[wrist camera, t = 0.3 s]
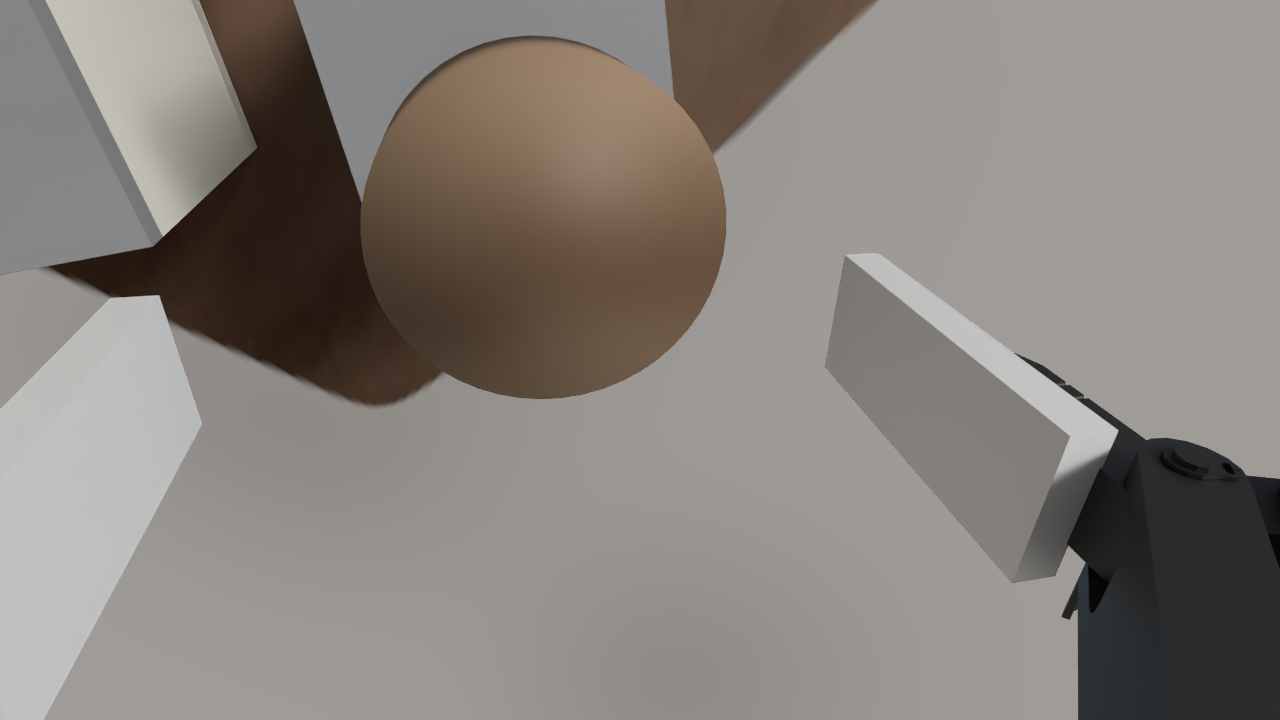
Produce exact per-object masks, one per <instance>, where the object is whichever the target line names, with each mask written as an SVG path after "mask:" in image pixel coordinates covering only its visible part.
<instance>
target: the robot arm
mask: <svg viewBox="0 0 1280 720" xmlns="http://www.w3.org/2000/svg"><path fill="white" fill-rule="evenodd" d="M825 368H826V369H827V370H828V371H829V372H830V373H831V375H832V376H833V377H834V378H835V379H836V380H837V382H838V383H839V384H840V385H841V386H842V387H843V388H844V390H845V391H846V392H847V393H848V394H849V395H850V397H851V398H852V399H853V400H854V401H855V402H856V403H857V404H858V406H859V407H860V408H861V409H862V410H863V412H864V413H865V414H866V415H867V416H868V417H869V419H870V420H871V421H872V422H873V423H874V424H875V426H877V428H878V429H879V430H880V431H881V432H882V434H883V435H884V436H885V437H886V438H887V439H888V440H889V442H891V444H892V445H893V446H894V447H895V449H896V450H897V451H898V452H899V453H900V454H901V455H902V457H903V458H904V459H905V460H906V461H907V463H908V464H909V465H910V466H911V467H912V468H913V469H914V470H915V472H916V473H917V474H918V475H919V476H920V478H921V479H922V480H923V481H924V482H925V483H926V484H927V486H928V487H929V488H930V489H931V490H932V491H933V493H934V494H935V495H936V496H937V497H938V498H939V500H941V502H942V503H943V504H944V505H945V506H946V508H947V509H948V510H949V511H950V512H951V513H952V514H953V516H954V517H955V518H956V519H957V520H958V521H959V523H960V524H961V525H962V526H963V527H964V528H965V530H966V531H967V532H968V533H969V534H970V535H971V537H973V539H974V540H975V541H976V542H977V543H978V545H979V546H980V547H981V548H982V549H983V550H984V552H985V553H986V554H987V555H988V556H989V557H990V558H991V560H992V561H993V562H994V563H995V564H996V565H997V566H998V568H999V569H1000V570H1001V571H1002V572H1003V573H1004V575H1005V576H1006V577H1007V578H1008V579H1009V580H1010V582H1011V583H1016V582H1021V581H1027V580H1033V579H1040V578H1046V577H1052V576H1055V575H1056V572H1057V570H1058V568H1059V566H1060V563H1061V561H1062V559H1063V556H1064V554H1065V552H1066V549H1067V547H1068V545H1069V546H1070V547H1071V548H1072V549H1073V550H1074V551H1075V552H1076V553H1077V554H1078V555H1079V556H1080V557H1081V558H1082V559H1083V560H1084V561H1085V562H1086V563H1085V565H1084V568H1083V570H1082V572H1081V574H1080V576H1079V578H1078V581H1077V583H1076V585H1075V587H1074V589H1073V591H1072V594H1071V596H1070V598H1069V600H1068V602H1067V604H1066V607H1065V609H1064V612H1063V614H1062V617H1063V618H1066V619H1070V618H1071V616H1072V613H1073V611H1075V610H1077V609H1078V720H1280V479H1275V478H1265V477H1255V476H1246V475H1245V474H1244V472H1243V470H1242V469H1241V468H1239V467H1238V466H1237V465H1235V464H1234V463H1233V462H1232V461H1230V460H1229V459H1228V458H1226V457H1224V456H1222V455H1220V454H1218V453H1216V452H1214V451H1212V450H1210V449H1208V448H1205V447H1202V446H1199V445H1196V444H1193V443H1190V442H1187V441H1182V440H1176V439H1170V438H1155V439H1149V440H1145V439H1144V438H1143V437H1141V436H1140V435H1139V434H1137V433H1136V432H1134V431H1133V430H1132V429H1130V428H1129V427H1127V426H1126V425H1125V424H1123V423H1122V422H1120V421H1119V420H1118V419H1116V418H1115V417H1114V416H1112V415H1111V414H1109V413H1108V412H1107V411H1105V410H1104V409H1102V408H1101V407H1100V406H1098V405H1097V404H1095V403H1094V402H1093V401H1091V400H1090V399H1089V398H1088V399H1084V395H1083V394H1082V393H1080V392H1079V391H1077V390H1076V389H1075V388H1073V387H1072V386H1071V385H1066V384H1065V383H1066V382H1065V381H1064V380H1062V379H1061V378H1059V377H1058V376H1057V375H1055V374H1054V373H1052V372H1051V371H1050V370H1048V369H1047V368H1046V367H1044V366H1042V365H1040V364H1038V363H1036V362H1034V361H1031V360H1029V359H1027V358H1025V357H1022V356H1020V355H1018V354H1016V353H1013V352H1012V351H1010V350H1009V349H1007V348H1006V347H1005V346H1003V345H1002V344H1000V343H999V342H998V341H997V340H995V339H994V338H993V337H991V336H990V335H988V334H987V333H986V332H984V331H983V330H981V329H980V328H979V327H977V326H976V325H975V324H974V323H972V322H971V321H969V320H968V319H967V318H965V317H964V316H963V315H961V314H960V313H959V312H957V311H956V310H954V309H953V308H952V307H950V306H949V305H948V304H946V303H945V302H944V301H942V300H941V299H940V298H938V297H937V296H935V295H934V294H933V293H931V292H930V291H929V290H927V289H926V288H925V287H923V286H922V285H921V284H919V283H918V282H917V281H915V280H914V279H912V278H911V277H910V276H908V275H907V274H906V273H904V272H903V271H902V270H900V269H899V268H898V267H896V266H895V265H893V264H892V263H891V262H889V261H888V260H887V259H885V258H884V257H883V256H881V255H880V254H879V253H871V254H870V253H869V254H854V255H853V254H852V255H845V258H844V264H843V269H842V275H841V280H840V286H839V291H838V297H837V302H836V308H835V314H834V319H833V325H832V330H831V336H830V342H829V347H828V352H827V358H826V364H825ZM201 426H202V422H201V419H200V416H199V413H198V410H197V407H196V404H195V401H194V398H193V395H192V392H191V389H190V386H189V383H188V380H187V377H186V374H185V371H184V368H183V365H182V362H181V359H180V356H179V353H178V350H177V348H176V344H175V342H174V339H173V335H172V332H171V329H170V326H169V323H168V320H167V318H166V315H165V312H164V309H163V306H162V303H161V300H160V297H159V295H154V296H137V297H120V298H110V299H109V300H108V301H107V302H106V303H105V304H104V305H103V306H102V307H101V308H100V309H99V310H98V311H97V312H96V313H95V314H94V315H93V316H92V317H91V318H90V319H89V320H88V321H87V322H86V323H85V324H84V325H83V326H82V327H81V328H80V329H79V330H78V331H77V332H76V333H75V334H74V335H73V336H72V337H71V338H70V339H69V340H68V341H67V342H66V343H65V344H64V345H63V346H62V347H61V348H60V349H59V350H58V351H57V352H56V353H55V354H54V356H52V357H51V358H50V359H49V360H48V362H47V363H45V364H44V365H43V367H41V368H40V369H39V370H38V372H37V373H36V374H35V375H34V376H33V377H32V378H31V379H30V380H29V381H28V382H27V383H26V384H25V385H24V386H23V387H22V388H21V389H20V390H19V391H18V392H17V393H16V394H15V395H14V396H13V397H12V398H11V399H10V400H9V401H8V402H7V403H6V404H5V405H4V406H3V407H2V408H1V409H0V720H44V718H45V716H46V714H47V712H48V711H49V709H50V707H51V705H52V703H53V701H54V699H55V698H56V695H57V694H58V692H59V690H60V688H61V686H62V684H63V683H64V681H65V679H66V677H67V675H68V673H69V672H70V670H71V668H72V666H73V664H74V662H75V660H76V658H77V657H78V655H79V653H80V651H81V649H82V647H83V645H84V643H85V642H86V640H87V638H88V636H89V634H90V632H91V630H92V629H93V627H94V625H95V623H96V621H97V619H98V617H99V616H100V614H101V612H102V610H103V608H104V606H105V604H106V603H107V601H108V599H109V597H110V595H111V593H112V591H113V590H114V588H115V586H116V584H117V582H118V580H119V578H120V577H121V575H122V573H123V571H124V569H125V567H126V565H127V564H128V562H129V560H130V558H131V556H132V554H133V552H134V550H135V549H136V547H137V545H138V543H139V541H140V539H141V537H142V536H143V534H144V532H145V530H146V528H147V526H148V524H149V522H150V521H151V519H152V517H153V515H154V513H155V511H156V509H157V508H158V506H159V504H160V502H161V500H162V498H163V496H164V495H165V492H166V491H167V489H168V487H169V485H170V483H171V482H172V480H173V478H174V476H175V474H176V472H177V470H178V469H179V467H180V465H181V463H182V461H183V459H184V457H185V456H186V454H187V452H188V450H189V448H190V446H191V444H192V442H193V441H194V439H195V437H196V435H197V433H198V431H199V429H200V427H201Z"/></svg>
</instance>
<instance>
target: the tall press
mask: <svg viewBox="0 0 1280 720" xmlns="http://www.w3.org/2000/svg"><path fill="white" fill-rule="evenodd" d="M294 3H295V6H296V9H297V12H298V15H299V18H300V21H301V24H302V27H303V30H304V32H305V35H306V38H307V41H308V44H309V47H310V50H311V53H312V56H313V59H314V62H315V65H316V68H317V71H318V74H319V77H320V80H321V83H322V86H323V89H324V92H325V95H326V98H327V101H328V104H329V107H330V110H331V113H332V116H333V119H334V122H335V125H336V128H337V131H338V134H339V137H340V140H341V143H342V146H343V149H344V152H345V155H346V158H347V161H348V163H349V166H350V169H351V172H352V175H353V178H354V181H355V184H356V187H357V190H358V193H359V196H360V199H361V202H362V201H363V195H364V189H365V184H366V181H367V178H368V175H369V172H370V169H371V166H372V163H373V160H374V158H375V155H376V153H377V151H378V148H379V146H380V144H381V141H382V139H383V137H384V134H385V132H386V130H387V128H388V126H389V124H390V122H391V120H392V118H393V116H394V114H395V112H396V111H397V110H398V108H399V107H400V105H401V104H402V102H403V101H404V99H405V98H406V97H407V95H408V94H409V93H410V92H411V91H412V90H413V89H414V88H415V86H416V85H417V84H418V83H419V82H420V81H421V80H422V79H423V78H424V77H425V76H426V75H428V74H429V73H430V72H432V71H433V70H434V69H435V68H437V67H438V66H439V65H440V64H442V63H443V62H445V61H447V60H448V59H450V58H452V57H454V56H455V55H457V54H459V53H461V52H462V51H465V50H467V49H470V48H473V47H475V46H478V45H480V44H483V43H486V42H490V41H494V40H499V39H503V38H507V37H518V36H530V35H531V36H550V37H558V38H563V39H568V40H573V41H577V42H580V43H583V44H586V45H589V46H592V47H594V48H597V49H599V50H601V51H603V52H605V53H607V54H609V55H611V56H613V57H615V58H617V59H619V60H620V61H622V62H623V63H625V64H626V65H628V66H629V67H631V68H632V69H634V70H635V71H637V72H638V73H640V74H641V75H643V76H644V77H645V78H647V79H648V80H650V81H651V82H653V83H654V84H655V85H657V86H658V87H660V88H661V89H663V90H664V91H665V92H666V93H667V94H668V95H669V96H670V97H671V98H672V99H673V100H674V94H673V84H672V74H671V63H670V53H669V42H668V32H667V22H666V11H665V1H664V0H294Z"/></svg>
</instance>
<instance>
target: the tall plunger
mask: <svg viewBox="0 0 1280 720" xmlns="http://www.w3.org/2000/svg"><path fill="white" fill-rule="evenodd" d="M360 236H361V244H362V252H363V259H364V263H365V267H366V270H367V274H368V277H369V281H370V284H371V286H372V288H373V291H374V293H375V295H376V297H377V300H378V302H379V304H380V306H381V307H382V309H383V311H384V312H385V314H386V316H387V317H388V319H389V321H390V322H391V324H392V325H393V326H394V327H395V328H396V330H397V331H398V332H399V333H400V335H401V336H402V337H403V338H404V340H405V341H406V342H407V343H408V344H409V345H410V346H411V347H412V348H414V349H415V350H416V351H417V352H418V353H419V354H420V355H421V356H422V357H423V358H425V359H426V360H427V361H429V362H430V363H431V364H433V365H434V366H436V367H437V368H438V369H440V370H442V371H443V372H445V373H447V374H449V375H450V376H452V377H454V378H456V379H457V380H460V381H462V382H464V383H467V384H469V385H472V386H474V387H476V388H479V389H482V390H486V391H489V392H493V393H496V394H500V395H506V396H512V397H518V398H532V399H549V398H564V397H570V396H576V395H582V394H586V393H590V392H593V391H597V390H600V389H604V388H606V387H609V386H611V385H613V384H616V383H618V382H620V381H623V380H625V379H627V378H629V377H630V376H632V375H634V374H636V373H638V372H640V371H641V370H643V369H644V368H646V367H647V366H649V365H650V364H652V363H653V362H654V361H656V360H657V359H659V358H660V357H661V356H662V355H663V354H664V353H665V352H667V351H668V350H669V349H670V348H671V347H672V346H673V345H674V344H675V343H676V342H677V341H678V340H679V339H680V338H681V337H682V335H683V334H684V333H685V332H686V331H687V330H688V329H689V327H690V326H691V325H692V323H693V322H694V320H695V319H696V318H697V316H698V315H699V313H700V312H701V310H702V308H703V306H704V304H705V303H706V301H707V299H708V297H709V295H710V293H711V290H712V288H713V285H714V283H715V281H716V278H717V276H718V272H719V268H720V265H721V261H722V257H723V252H724V244H725V237H726V206H725V199H724V191H723V186H722V183H721V179H720V175H719V172H718V168H717V165H716V163H715V161H714V158H713V156H712V153H711V151H710V149H709V146H708V145H707V143H706V141H705V140H704V138H703V136H702V134H701V133H700V131H699V129H698V128H697V126H696V125H695V123H694V122H693V121H692V120H691V119H690V117H689V116H688V115H687V114H686V112H685V111H684V110H683V109H682V107H681V106H680V105H679V104H678V103H677V102H675V101H674V100H673V99H672V98H671V97H670V96H669V95H668V94H667V93H666V92H665V91H664V90H663V89H661V88H660V87H658V86H657V85H655V84H654V83H653V82H651V81H650V80H648V79H647V78H645V77H644V76H643V75H641V74H640V73H638V72H637V71H635V70H634V69H632V68H631V67H629V66H628V65H626V64H625V63H623V62H622V61H620V60H619V59H617V58H615V57H613V56H611V55H609V54H607V53H605V52H603V51H601V50H599V49H597V48H594V47H592V46H589V45H586V44H583V43H580V42H577V41H573V40H568V39H563V38H558V37H550V36H531V35H530V36H518V37H507V38H503V39H499V40H494V41H490V42H486V43H483V44H480V45H478V46H475V47H473V48H470V49H467V50H465V51H462V52H461V53H459V54H457V55H455V56H454V57H452V58H450V59H448V60H447V61H445V62H443V63H442V64H440V65H439V66H438V67H437V68H435V69H434V70H433V71H432V72H430V73H429V74H428V75H426V76H425V77H424V78H423V79H422V80H421V81H420V82H419V83H418V84H417V85H416V86H415V88H414V89H413V90H412V91H411V92H410V93H409V94H408V95H407V97H406V98H405V99H404V101H403V102H402V104H401V105H400V107H399V108H398V110H397V111H396V112H395V114H394V116H393V118H392V120H391V122H390V124H389V126H388V128H387V130H386V132H385V134H384V137H383V139H382V141H381V144H380V146H379V148H378V151H377V153H376V155H375V158H374V160H373V163H372V166H371V169H370V172H369V175H368V178H367V181H366V184H365V189H364V195H363V201H362V206H361V227H360Z"/></svg>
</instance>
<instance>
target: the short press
mask: <svg viewBox="0 0 1280 720" xmlns="http://www.w3.org/2000/svg"><path fill="white" fill-rule="evenodd" d="M256 148H257V145H256V143H255V140H254V138H253V135H252V133H251V130H250V128H249V125H248V123H247V120H246V118H245V115H244V113H243V110H242V108H241V105H240V102H239V100H238V97H237V95H236V92H235V90H234V87H233V85H232V82H231V80H230V77H229V75H228V72H227V70H226V67H225V65H224V62H223V60H222V57H221V55H220V52H219V50H218V47H217V45H216V42H215V40H214V37H213V34H212V32H211V29H210V27H209V24H208V22H207V19H206V17H205V14H204V12H203V9H202V7H201V4H200V2H199V0H0V275H2V274H7V273H13V272H19V271H24V270H29V269H35V268H40V267H46V266H51V265H56V264H62V263H67V262H72V261H78V260H83V259H89V258H94V257H99V256H105V255H110V254H116V253H121V252H126V251H132V250H137V249H142V248H148V247H153V246H154V245H155V244H156V243H157V242H158V241H159V240H160V239H161V238H162V237H163V236H164V235H165V234H167V233H168V232H169V231H170V230H171V229H172V228H173V227H174V226H175V225H176V224H177V223H178V222H179V221H180V220H181V219H182V218H183V217H185V216H186V215H187V214H188V213H189V212H190V211H191V210H192V209H193V208H194V207H195V206H196V205H197V204H198V203H199V202H200V201H201V200H203V199H204V198H205V197H206V196H207V195H208V194H209V193H210V192H211V191H212V190H213V189H214V188H215V187H216V186H217V185H218V184H219V183H221V182H222V181H223V180H224V179H225V178H226V177H227V176H228V175H229V174H230V173H231V172H232V171H233V170H234V169H235V168H236V167H237V166H238V165H240V164H241V163H242V162H243V161H244V160H245V159H246V158H247V157H248V156H249V155H250V154H251V153H252V152H253V151H254V150H255V149H256Z"/></svg>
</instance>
